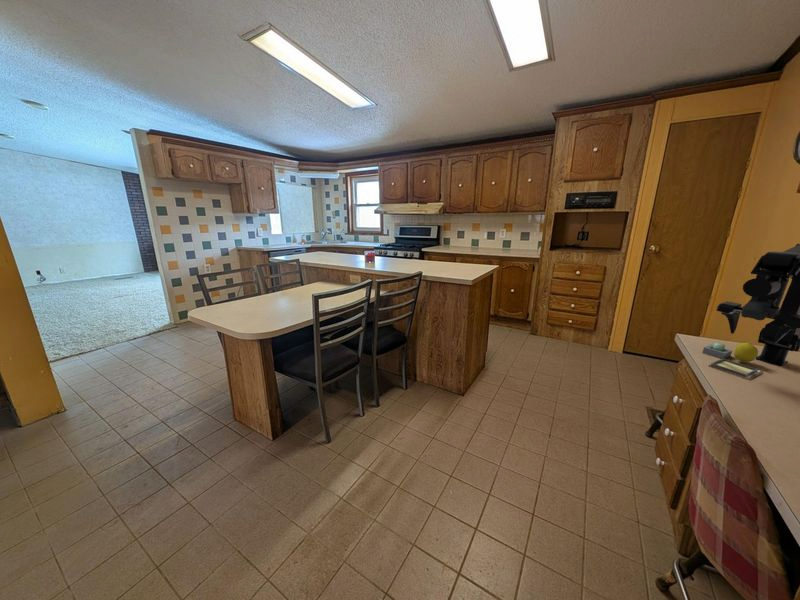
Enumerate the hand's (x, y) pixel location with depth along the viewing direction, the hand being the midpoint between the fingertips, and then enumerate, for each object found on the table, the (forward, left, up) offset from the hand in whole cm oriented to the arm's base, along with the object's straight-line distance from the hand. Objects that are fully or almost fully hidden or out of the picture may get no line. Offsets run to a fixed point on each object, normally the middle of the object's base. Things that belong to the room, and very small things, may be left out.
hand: (752, 338), depth 95 cm
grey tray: (-4, -2, -14) cm, 14 cm away
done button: (-14, -10, -13) cm, 21 cm away
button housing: (-14, -10, -14) cm, 22 cm away
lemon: (-14, -3, -14) cm, 20 cm away
